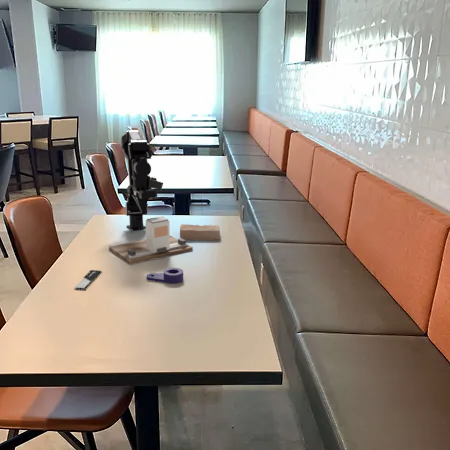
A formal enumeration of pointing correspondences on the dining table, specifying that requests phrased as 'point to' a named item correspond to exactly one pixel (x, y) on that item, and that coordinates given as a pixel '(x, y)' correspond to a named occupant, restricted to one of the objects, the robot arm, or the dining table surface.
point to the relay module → (157, 234)
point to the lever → (167, 276)
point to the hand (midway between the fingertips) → (143, 212)
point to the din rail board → (139, 253)
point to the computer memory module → (88, 280)
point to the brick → (199, 232)
